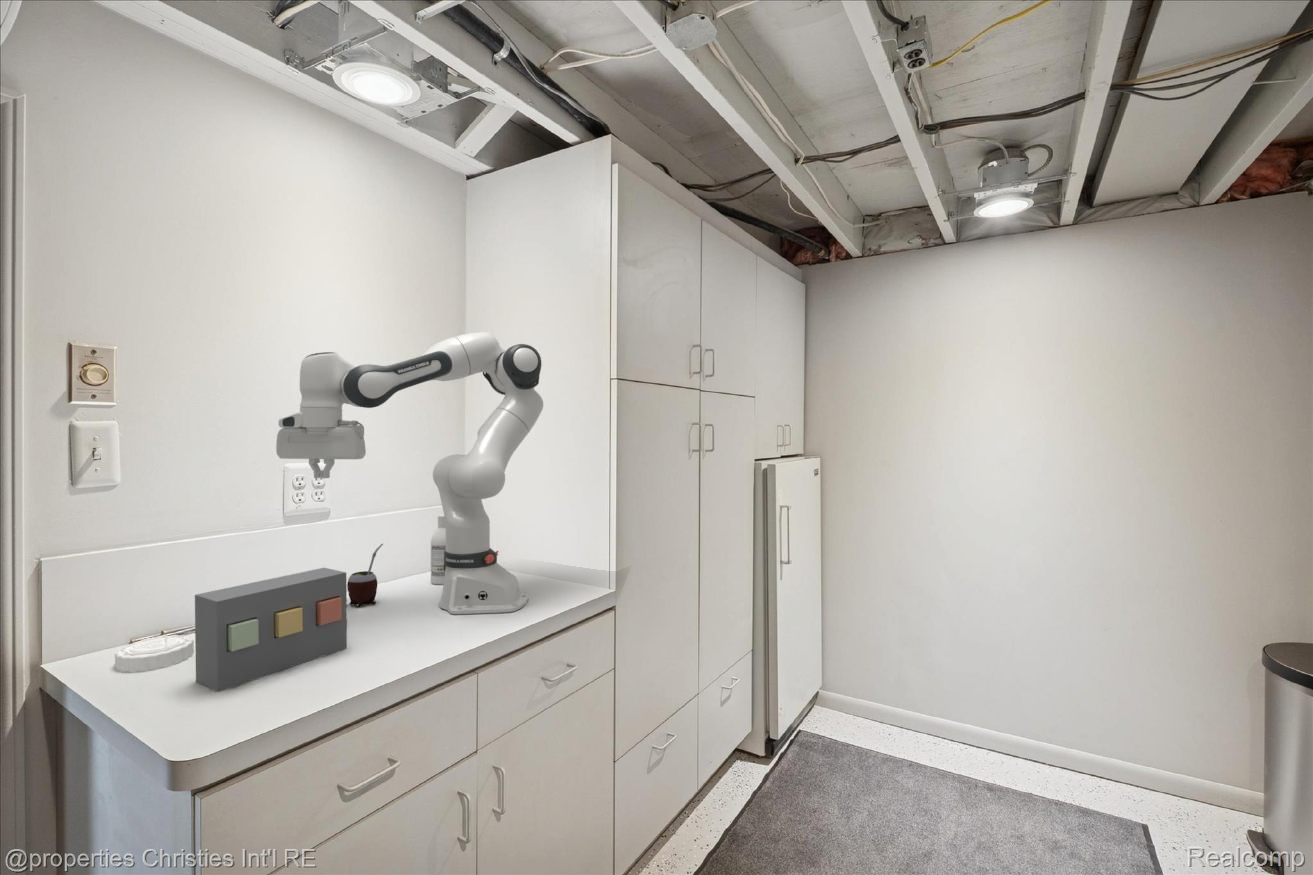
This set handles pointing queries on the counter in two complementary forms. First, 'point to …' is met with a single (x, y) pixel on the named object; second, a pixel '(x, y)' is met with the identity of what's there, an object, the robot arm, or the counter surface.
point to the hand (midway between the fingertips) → (321, 478)
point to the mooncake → (154, 653)
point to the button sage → (242, 634)
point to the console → (266, 626)
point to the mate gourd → (363, 586)
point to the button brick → (328, 610)
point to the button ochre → (288, 621)
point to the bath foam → (438, 552)
